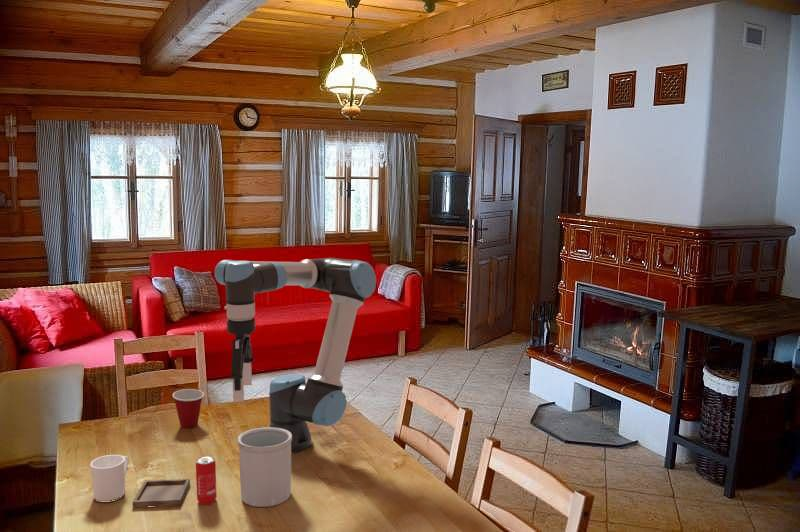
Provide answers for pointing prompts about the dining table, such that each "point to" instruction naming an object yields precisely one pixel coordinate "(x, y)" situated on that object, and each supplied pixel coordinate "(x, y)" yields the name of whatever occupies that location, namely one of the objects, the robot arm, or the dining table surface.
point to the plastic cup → (188, 406)
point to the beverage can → (206, 480)
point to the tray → (161, 493)
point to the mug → (109, 477)
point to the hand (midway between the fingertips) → (242, 392)
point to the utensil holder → (265, 466)
